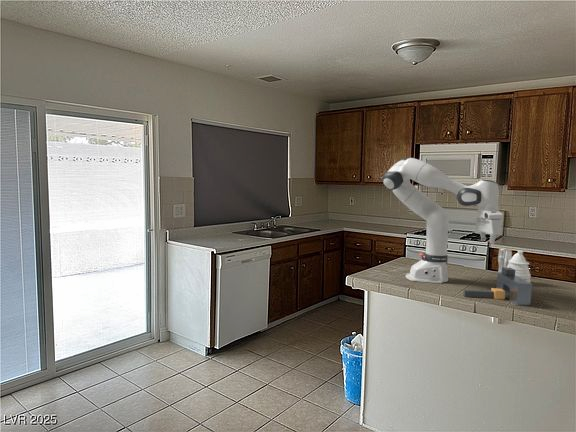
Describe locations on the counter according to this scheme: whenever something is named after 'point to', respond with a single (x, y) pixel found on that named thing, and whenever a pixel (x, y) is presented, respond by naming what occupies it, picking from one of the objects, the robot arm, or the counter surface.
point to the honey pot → (520, 266)
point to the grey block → (514, 287)
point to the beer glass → (504, 258)
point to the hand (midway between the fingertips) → (487, 242)
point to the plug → (485, 293)
